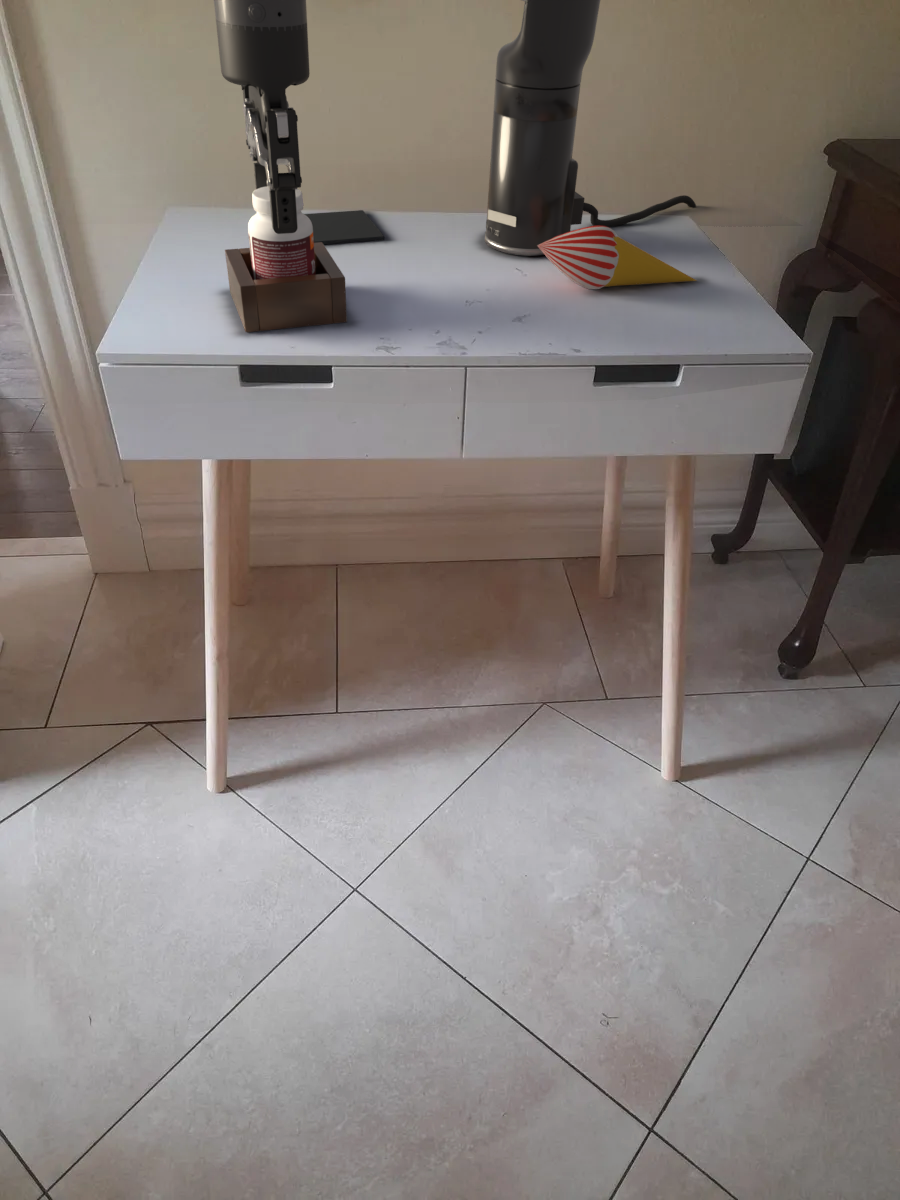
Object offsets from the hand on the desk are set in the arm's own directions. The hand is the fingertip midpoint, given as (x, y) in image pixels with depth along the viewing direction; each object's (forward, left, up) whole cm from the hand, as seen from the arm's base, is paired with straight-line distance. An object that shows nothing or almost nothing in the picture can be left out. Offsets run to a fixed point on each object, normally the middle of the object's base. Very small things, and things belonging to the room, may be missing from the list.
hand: (276, 217), depth 84 cm
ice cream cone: (-36, +3, -9) cm, 38 cm away
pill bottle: (0, 0, -9) cm, 9 cm away
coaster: (-10, -22, -9) cm, 26 cm away
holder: (0, 0, -9) cm, 9 cm away
